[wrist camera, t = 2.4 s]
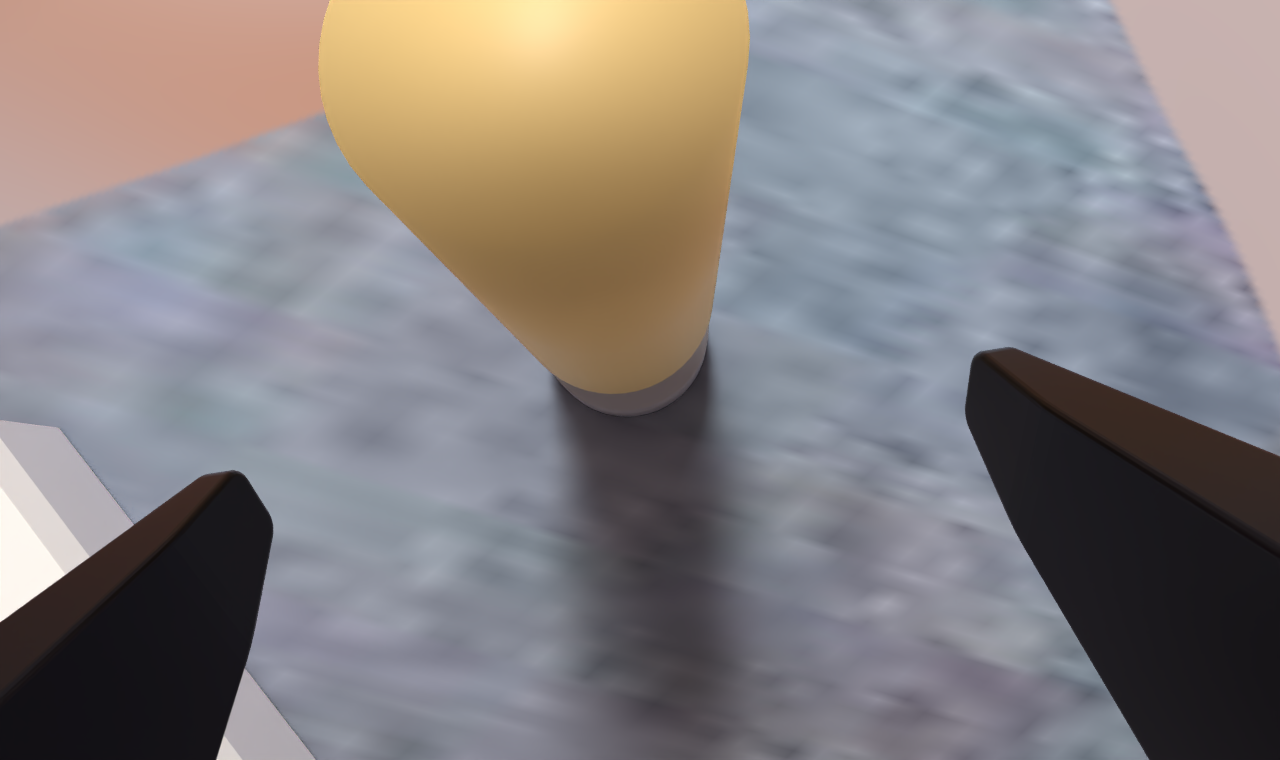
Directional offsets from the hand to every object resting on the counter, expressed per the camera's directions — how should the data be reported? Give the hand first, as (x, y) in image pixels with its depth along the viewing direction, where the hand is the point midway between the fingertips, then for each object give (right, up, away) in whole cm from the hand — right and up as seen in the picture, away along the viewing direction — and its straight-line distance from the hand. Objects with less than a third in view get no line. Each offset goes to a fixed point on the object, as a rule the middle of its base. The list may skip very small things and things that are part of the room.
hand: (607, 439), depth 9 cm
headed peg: (0, +2, +11) cm, 11 cm away
